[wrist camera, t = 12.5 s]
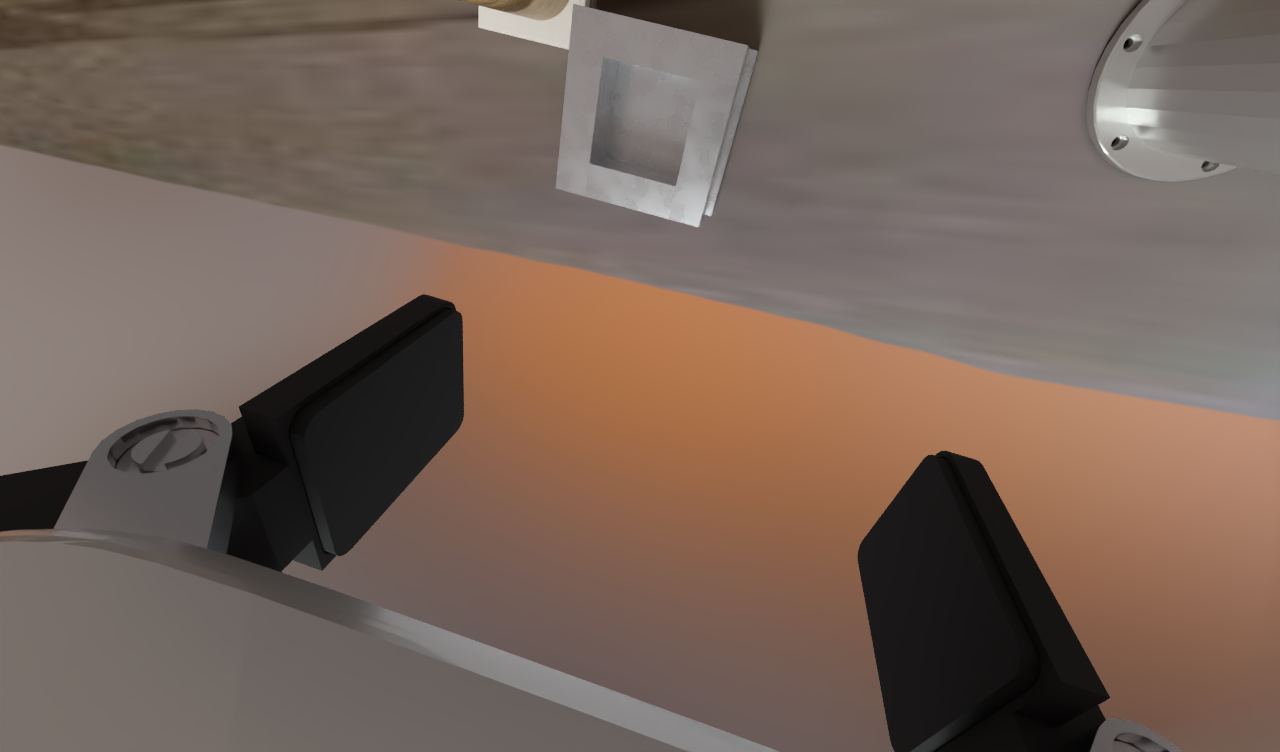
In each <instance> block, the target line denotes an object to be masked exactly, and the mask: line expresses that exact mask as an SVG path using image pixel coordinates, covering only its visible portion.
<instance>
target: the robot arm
mask: <svg viewBox="0 0 1280 752" xmlns="http://www.w3.org/2000/svg"><path fill="white" fill-rule="evenodd" d="M1126 40H1128V45H1127V46H1126V47H1125V48H1123V46H1124V43H1125V41H1126ZM1086 117H1087V124H1088V132H1089V134H1090V137H1091V139H1092V142H1093V144H1094V146H1095V148H1096V149H1097V151H1098V152H1099V153H1100V154H1101V156H1102V157H1103V158H1104V159H1105V160H1106V161H1107V162H1108V163H1110V164H1111V165H1113V166H1114V167H1116V168H1117V169H1119V170H1120V171H1123V172H1126V173H1129V174H1131V175H1134V176H1137V177H1142V178H1146V179H1151V180H1156V181H1185V180H1193V179H1201V178H1205V177H1209V176H1213V175H1217V174H1221V173H1225V172H1228V171H1230V170H1233V169H1235V168H1238V167H1241V168H1247V169H1252V170H1257V171H1263V172H1268V173H1274V174H1279V175H1280V0H1142V1H1141V2H1140V3H1139V5H1138V6H1137V7H1136V8H1135V9H1134V10H1133V11H1132V13H1131V14H1130V15H1129V16H1128V17H1127V18H1126V20H1125V21H1124V22H1123V23H1122V24H1121V26H1120V27H1119V29H1118V30H1117V32H1116V33H1115V35H1114V36H1113V38H1112V39H1111V41H1110V42H1109V44H1108V45H1107V47H1106V49H1105V51H1104V53H1103V55H1102V57H1101V59H1100V61H1099V63H1098V65H1097V67H1096V69H1095V72H1094V75H1093V78H1092V82H1091V85H1090V88H1089V92H1088V99H1087V109H1086ZM1115 138H1116V141H1115V143H1114V144H1112V141H1113V140H1114V139H1115ZM1111 144H1112V145H1111ZM462 329H463V325H462V316H461V313H459V312H457V311H456V308H455V306H454V304H453V303H452V302H449V301H445V300H442V299H438V298H435V297H432V296H429V295H421V296H419V297H417V298H415V299H414V300H412V301H410V302H409V303H407V304H405V305H404V306H402V307H401V308H399V309H397V310H396V311H394V312H393V313H391V314H389V315H388V316H386V317H384V318H383V319H381V320H379V321H378V322H376V323H375V324H373V325H371V326H370V327H368V328H366V329H365V330H363V331H362V332H360V333H358V334H357V335H355V336H354V337H352V338H350V339H349V340H347V341H345V342H344V343H342V344H340V345H339V346H337V347H335V348H334V349H332V350H331V351H329V352H328V353H326V354H324V355H322V356H321V357H319V358H318V359H316V360H314V361H313V362H311V363H309V364H308V365H306V366H305V367H303V368H301V369H300V370H298V371H296V372H295V373H293V374H291V375H290V376H288V377H287V378H285V379H283V380H282V381H280V382H278V383H277V384H275V385H273V386H272V387H270V388H269V389H267V390H265V391H264V392H262V393H261V394H259V395H257V396H256V397H254V398H252V399H251V400H249V401H247V402H246V403H244V404H243V405H241V406H239V409H240V412H241V414H242V417H241V418H239V419H237V420H236V421H234V422H233V423H230V422H229V421H228V420H227V419H226V418H225V417H224V416H221V415H219V414H217V413H215V412H211V411H204V410H176V411H170V412H164V413H159V414H155V415H152V416H149V417H145V418H142V419H139V420H136V421H134V422H132V423H130V424H128V425H126V426H124V427H122V428H120V429H117V430H116V431H115V432H113V433H112V434H110V435H109V436H108V437H106V438H105V439H103V440H102V441H101V442H100V444H99V445H98V446H97V447H96V449H95V450H94V451H93V452H92V454H91V456H90V458H89V460H88V461H83V462H77V463H72V464H66V465H60V466H54V467H48V468H43V469H38V470H32V471H26V472H20V473H15V474H9V475H3V476H0V752H779V751H776V750H774V749H771V748H768V747H765V746H763V745H760V744H757V743H754V742H752V741H749V740H747V739H744V738H741V737H739V736H735V735H733V734H730V733H728V732H725V731H722V730H720V729H717V728H714V727H711V726H709V725H706V724H703V723H700V722H698V721H695V720H692V719H689V718H687V717H684V716H681V715H678V714H676V713H673V712H670V711H667V710H665V709H662V708H659V707H656V706H653V705H651V704H648V703H646V702H643V701H640V700H637V699H635V698H632V697H629V696H626V695H624V694H621V693H618V692H615V691H613V690H610V689H607V688H604V687H602V686H599V685H596V684H593V683H591V682H588V681H585V680H582V679H580V678H577V677H574V676H571V675H568V674H566V673H562V672H560V671H557V670H555V669H552V668H549V667H546V666H544V665H541V664H538V663H535V662H533V661H530V660H527V659H524V658H522V657H519V656H516V655H513V654H511V653H508V652H505V651H502V650H499V649H497V648H494V647H491V646H488V645H486V644H483V643H480V642H477V641H474V640H472V639H469V638H466V637H463V636H460V635H458V634H455V633H452V632H449V631H447V630H443V629H441V628H438V627H435V626H432V625H430V624H427V623H424V622H421V621H419V620H416V619H413V618H410V617H407V616H404V615H402V614H399V613H396V612H393V611H390V610H388V609H385V608H382V607H379V606H376V605H374V604H371V603H368V602H365V601H363V600H360V599H357V598H354V597H351V596H349V595H346V594H343V593H340V592H337V591H335V590H332V589H329V588H326V587H323V586H320V585H317V584H314V583H311V582H308V581H305V580H302V579H299V578H296V577H293V576H290V575H287V574H284V573H282V570H283V569H284V568H285V567H286V566H287V565H288V564H289V563H290V562H291V561H292V560H293V559H294V561H297V562H299V563H302V564H305V565H308V566H310V567H313V568H316V569H319V570H321V571H322V570H323V569H324V568H325V567H326V566H327V565H328V564H329V563H330V562H331V560H332V559H333V558H334V557H335V556H336V555H338V556H342V555H344V554H346V553H347V552H348V551H349V550H350V549H351V548H353V546H354V545H355V544H356V543H357V542H358V541H359V540H360V539H361V537H362V536H363V535H364V534H365V533H366V532H367V531H368V530H369V529H370V527H371V526H372V525H373V524H374V523H375V522H376V521H377V520H378V519H379V517H380V516H381V515H382V514H383V513H384V512H385V511H386V510H387V509H388V507H389V506H390V505H391V504H392V503H393V502H394V501H395V500H396V498H397V497H398V496H399V495H400V494H401V493H402V492H403V491H404V490H405V488H406V487H407V486H408V485H409V484H410V483H411V482H412V481H413V479H414V478H415V477H416V476H417V475H418V474H419V473H420V472H421V470H422V469H423V468H424V467H425V466H426V465H427V464H428V463H429V462H430V460H431V459H432V458H433V457H434V456H435V455H436V454H437V453H438V451H439V450H440V449H441V448H442V447H443V446H444V445H445V444H446V443H447V442H448V440H449V439H450V438H451V437H452V436H453V435H454V434H455V433H456V431H457V430H458V429H459V427H460V425H461V423H462V421H463V417H464V394H463V393H464V392H463V330H462ZM858 564H859V569H860V575H861V581H862V586H863V592H864V597H865V603H866V608H867V614H868V619H869V625H870V630H871V636H872V641H873V647H874V653H875V658H876V664H877V669H878V675H879V680H880V686H881V691H882V697H883V702H884V708H885V713H886V719H887V724H888V730H889V736H890V740H891V744H892V747H893V749H894V751H895V752H1181V751H1180V750H1179V749H1178V748H1177V747H1175V746H1174V745H1172V744H1171V743H1170V742H1168V741H1167V740H1165V739H1164V738H1163V737H1161V736H1160V735H1159V734H1157V733H1155V732H1153V731H1152V730H1150V729H1147V728H1146V727H1144V726H1142V725H1140V724H1138V723H1136V722H1132V721H1128V720H1124V719H1121V718H1115V719H1109V720H1106V719H1105V717H1104V716H1103V714H1102V712H1101V710H1100V708H1099V706H1098V704H1100V703H1102V702H1104V701H1106V700H1107V699H1109V698H1110V696H1109V695H1108V693H1107V691H1106V689H1105V688H1104V686H1103V684H1102V682H1101V680H1100V678H1099V677H1098V675H1097V673H1096V671H1095V669H1094V668H1093V666H1092V664H1091V662H1090V660H1089V658H1088V656H1087V655H1086V653H1085V651H1084V649H1083V647H1082V646H1081V644H1080V642H1079V640H1078V639H1077V636H1076V635H1075V633H1074V631H1073V629H1072V628H1071V625H1070V624H1069V622H1068V620H1067V618H1066V616H1065V615H1064V613H1063V611H1062V609H1061V607H1060V605H1059V604H1058V602H1057V600H1056V598H1055V596H1054V594H1053V593H1052V591H1051V589H1050V587H1049V586H1048V584H1047V582H1046V580H1045V578H1044V576H1043V575H1042V573H1041V571H1040V569H1039V567H1038V565H1037V564H1036V562H1035V560H1034V558H1033V556H1032V554H1031V553H1030V551H1029V549H1028V547H1027V545H1026V543H1025V542H1024V540H1023V538H1022V536H1021V534H1020V533H1019V531H1018V529H1017V527H1016V525H1015V523H1014V522H1013V520H1012V518H1011V516H1010V514H1009V513H1008V511H1007V509H1006V507H1005V505H1004V503H1003V502H1002V500H1001V498H1000V496H999V494H998V492H997V491H996V489H995V487H994V485H993V483H992V482H991V480H990V478H989V476H988V474H987V472H986V471H985V469H984V467H983V465H982V464H981V463H980V462H979V461H977V460H974V459H971V458H968V457H965V456H961V455H958V454H955V453H951V452H948V451H941V452H939V453H937V454H936V455H935V456H934V455H928V456H927V457H925V458H924V459H923V461H922V462H921V463H920V465H919V466H918V467H917V469H916V470H915V471H914V473H913V474H912V475H911V477H910V478H909V479H908V481H907V482H906V484H905V485H904V486H903V487H902V489H901V490H900V491H899V493H898V494H897V495H896V497H895V498H894V500H893V501H892V502H891V503H890V505H889V506H888V507H887V509H886V510H885V511H884V513H883V514H882V515H881V517H880V518H879V519H878V521H877V522H876V523H875V525H874V526H873V527H872V529H871V530H870V532H869V533H868V534H867V536H866V537H865V538H864V539H863V541H862V542H861V544H860V547H859V551H858Z"/></svg>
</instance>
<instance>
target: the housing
mask: <svg viewBox="0 0 1280 752" xmlns="http://www.w3.org/2000/svg"><path fill="white" fill-rule="evenodd" d="M757 55H758V51H757V50H753V49H750V48H749V46H748V45H745V44H740V43H736V42H732V41H728V40H724V39H719V38H715V37H711V36H707V35H703V34H698V33H694V32H690V31H686V30H681V29H677V28H673V27H669V26H665V25H660V24H656V23H652V22H648V21H644V20H639V19H635V18H631V17H627V16H623V15H618V14H614V13H610V12H606V11H602V10H597V9H593V8H589V7H585V6H580V5H576V4H573V11H572V22H571V32H570V43H569V54H568V64H567V75H566V86H565V96H564V107H563V118H562V128H561V139H560V149H559V160H558V171H557V181H556V189H560V190H564V191H567V192H571V193H575V194H578V195H582V196H586V197H589V198H593V199H597V200H600V201H604V202H608V203H611V204H615V205H619V206H622V207H626V208H630V209H633V210H637V211H641V212H644V213H648V214H652V215H655V216H659V217H663V218H666V219H670V220H674V221H677V222H681V223H684V224H688V225H692V226H695V227H699V226H700V224H701V222H702V220H703V218H704V216H705V215H709V216H711V215H712V213H713V211H714V208H715V204H716V201H717V197H718V193H719V190H720V186H721V183H722V179H723V176H724V172H725V169H726V165H727V162H728V158H729V155H730V151H731V147H732V144H733V140H734V137H735V133H736V130H737V126H738V123H739V119H740V116H741V112H742V108H743V105H744V101H745V98H746V94H747V91H748V87H749V84H750V80H751V77H752V73H753V70H754V66H755V62H756V59H757Z"/></svg>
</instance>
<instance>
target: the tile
mask: <svg viewBox="0 0 1280 752" xmlns="http://www.w3.org/2000/svg"><path fill="white" fill-rule="evenodd" d="M573 4H576V5H580V6H585V7H589V6H590V0H569V2H568V4H567V5H566V7H565V8H564V9H563V11H562V12H561V13H559V14H558V15H557V16H555V17H554V18H551V19H549V20H534V19H530V18H526V17H522V16H518V15H514V14H510V13H507V12H503V11H499V10H495V9H491V8H487V7H483V6H479V28H483V29H487V30H491V31H495V32H499V33H503V34H507V35H511V36H515V37H519V38H523V39H527V40H532V41H536V42H540V43H544V44H548V45H552V46H556V47H560V48H564V49H568V50H569V43H570V32H571V22H572V11H573Z"/></svg>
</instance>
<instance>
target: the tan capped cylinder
mask: <svg viewBox="0 0 1280 752" xmlns="http://www.w3.org/2000/svg"><path fill="white" fill-rule="evenodd" d="M460 1H464V2H467V3H471V4H475V5H479V6H483V7H487V8H491V9H495V10H499V11H503V12H507V13H510V14H514V15H518V16H522V17H526V18H530V19H534V20H549V19H551V18H554V17H555V16H557V15H558V14H559V13H561V12H562V11H563V9H564V8H565V7H566V5H567V4H568V2H569V0H460Z"/></svg>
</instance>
